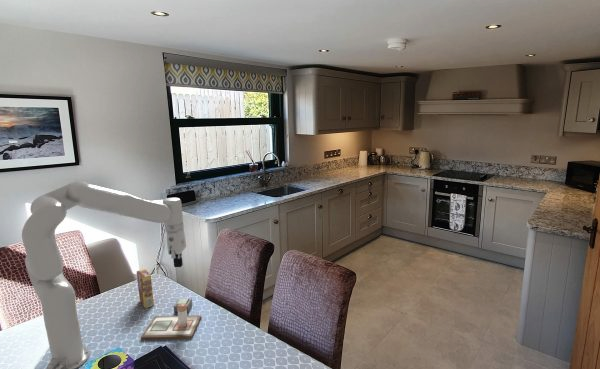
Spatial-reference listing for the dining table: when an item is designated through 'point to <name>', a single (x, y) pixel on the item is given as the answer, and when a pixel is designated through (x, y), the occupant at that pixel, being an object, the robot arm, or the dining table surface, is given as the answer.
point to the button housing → (186, 305)
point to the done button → (183, 301)
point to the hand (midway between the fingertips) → (178, 266)
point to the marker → (182, 315)
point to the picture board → (170, 328)
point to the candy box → (145, 288)
